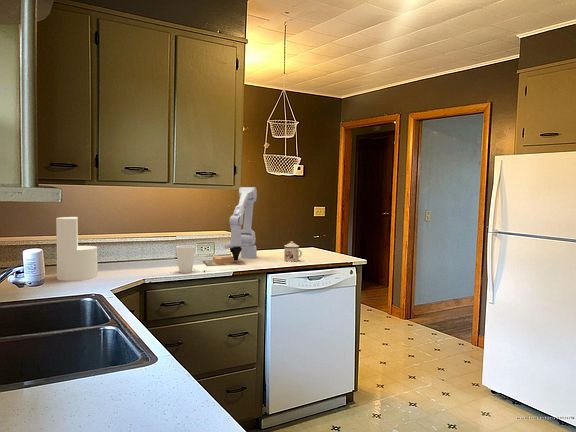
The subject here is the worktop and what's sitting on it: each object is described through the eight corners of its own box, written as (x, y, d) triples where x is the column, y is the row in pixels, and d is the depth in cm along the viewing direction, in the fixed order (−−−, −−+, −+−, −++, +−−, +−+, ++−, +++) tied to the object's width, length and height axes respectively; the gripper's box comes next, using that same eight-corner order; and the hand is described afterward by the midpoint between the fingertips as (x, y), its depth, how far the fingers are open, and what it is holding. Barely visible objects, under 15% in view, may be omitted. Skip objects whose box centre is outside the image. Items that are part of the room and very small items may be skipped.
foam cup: (198, 270, 230) (198, 245, 230) (188, 274, 222) (188, 248, 221) (182, 269, 233) (182, 245, 233) (172, 272, 225) (172, 246, 224)
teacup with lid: (280, 260, 268) (281, 241, 268) (290, 259, 276) (290, 240, 275) (296, 262, 261) (297, 243, 260) (305, 261, 268) (306, 241, 268)
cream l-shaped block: (55, 281, 199) (54, 219, 197) (58, 275, 214) (57, 216, 213) (97, 279, 205) (97, 218, 204) (97, 272, 221) (96, 216, 220)
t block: (231, 260, 259) (231, 255, 259) (234, 263, 248) (234, 258, 247) (212, 261, 256) (212, 255, 256) (215, 264, 245) (215, 258, 244)
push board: (238, 261, 264) (238, 259, 264) (247, 266, 245) (247, 264, 245) (201, 262, 257) (201, 260, 257) (206, 268, 238) (206, 266, 238)
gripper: (241, 235, 261) (241, 258, 261) (221, 236, 250) (221, 260, 251) (249, 236, 256) (249, 259, 256) (229, 237, 245) (229, 262, 246)
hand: (235, 260), depth 253 cm, fingers closed
